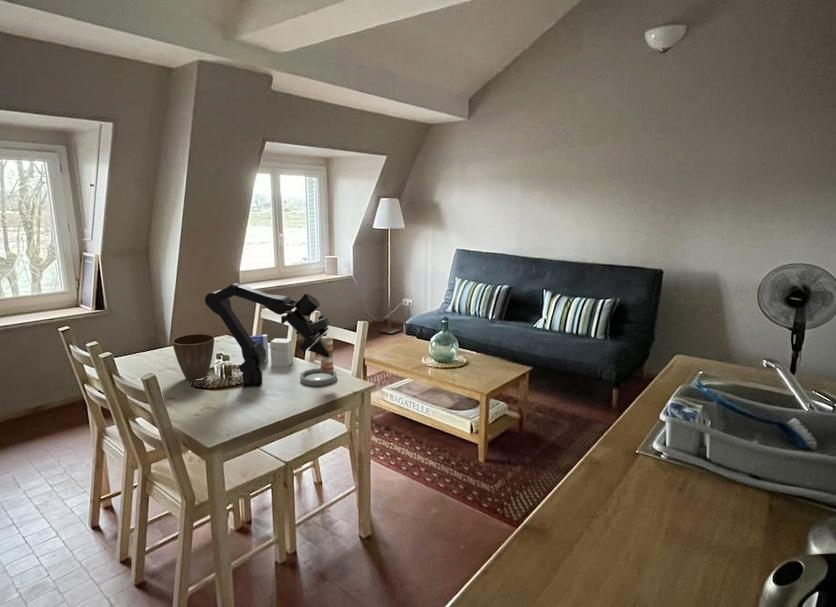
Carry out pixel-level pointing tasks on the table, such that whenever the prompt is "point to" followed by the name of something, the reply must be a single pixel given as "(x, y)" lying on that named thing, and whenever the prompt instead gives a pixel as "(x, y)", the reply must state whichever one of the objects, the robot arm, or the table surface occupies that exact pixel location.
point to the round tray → (317, 377)
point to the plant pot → (194, 354)
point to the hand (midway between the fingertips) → (330, 354)
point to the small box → (281, 352)
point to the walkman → (263, 341)
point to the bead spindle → (328, 345)
